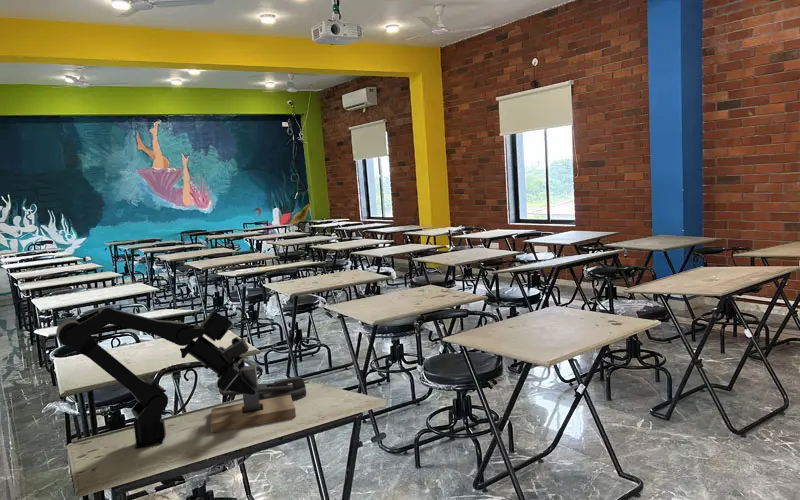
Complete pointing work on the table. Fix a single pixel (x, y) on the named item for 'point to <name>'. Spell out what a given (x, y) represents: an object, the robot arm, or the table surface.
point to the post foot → (251, 414)
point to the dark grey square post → (251, 378)
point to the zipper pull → (277, 389)
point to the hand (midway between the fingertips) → (255, 388)
